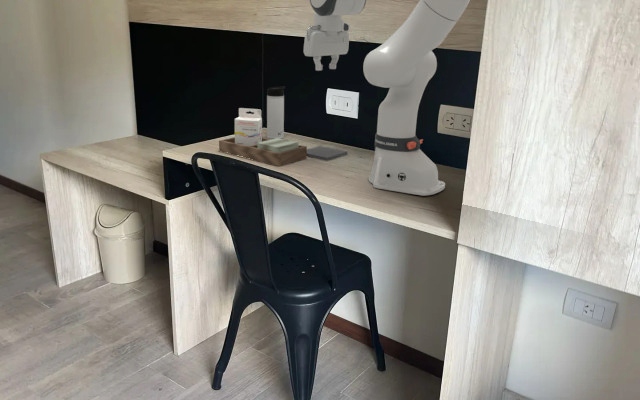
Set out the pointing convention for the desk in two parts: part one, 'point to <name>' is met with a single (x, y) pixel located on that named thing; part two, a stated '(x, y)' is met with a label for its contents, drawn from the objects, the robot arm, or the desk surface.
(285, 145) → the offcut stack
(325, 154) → the mat
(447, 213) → the desk surface
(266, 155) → the wooden tray
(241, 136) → the ink cartridge box
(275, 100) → the travel mug
